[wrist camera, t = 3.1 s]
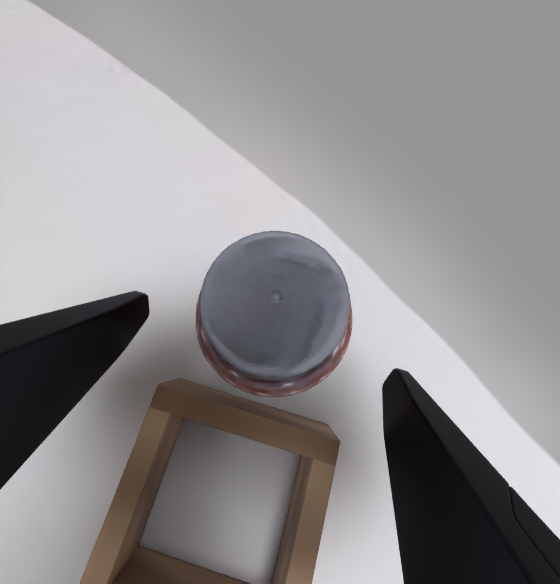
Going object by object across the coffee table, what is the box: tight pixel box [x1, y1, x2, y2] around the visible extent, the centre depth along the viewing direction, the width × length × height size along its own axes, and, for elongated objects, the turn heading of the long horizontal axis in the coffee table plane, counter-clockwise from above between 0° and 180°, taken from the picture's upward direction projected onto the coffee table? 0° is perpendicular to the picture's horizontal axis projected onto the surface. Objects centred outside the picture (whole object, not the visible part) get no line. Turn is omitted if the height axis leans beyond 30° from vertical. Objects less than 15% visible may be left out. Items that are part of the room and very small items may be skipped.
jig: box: [80, 379, 340, 584], centre depth 13 cm, size 10×10×3 cm
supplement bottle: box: [196, 231, 352, 397], centre depth 12 cm, size 6×6×11 cm
